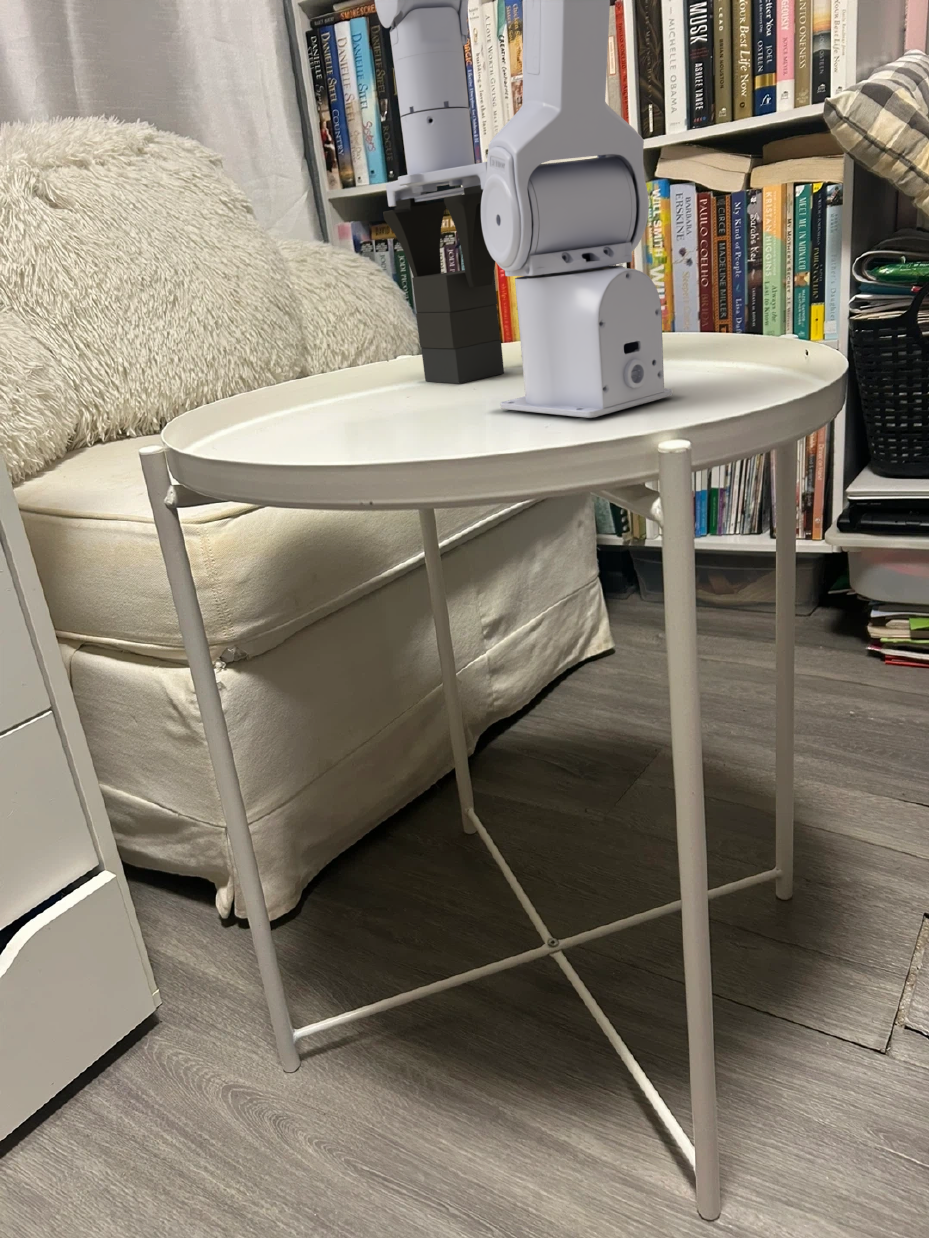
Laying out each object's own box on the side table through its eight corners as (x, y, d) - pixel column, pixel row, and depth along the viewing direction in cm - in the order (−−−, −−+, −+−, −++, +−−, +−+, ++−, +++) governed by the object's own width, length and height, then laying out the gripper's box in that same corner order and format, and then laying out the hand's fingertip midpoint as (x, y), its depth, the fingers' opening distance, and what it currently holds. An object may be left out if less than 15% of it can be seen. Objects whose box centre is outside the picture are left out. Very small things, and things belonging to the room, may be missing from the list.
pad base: (504, 373, 85) (501, 339, 84) (459, 384, 82) (455, 348, 81) (469, 371, 89) (465, 338, 88) (424, 381, 86) (420, 347, 85)
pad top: (497, 304, 83) (494, 268, 81) (450, 312, 80) (446, 275, 79) (462, 305, 87) (458, 270, 85) (416, 313, 84) (411, 277, 83)
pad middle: (500, 339, 84) (497, 304, 82) (453, 349, 81) (449, 312, 80) (465, 339, 88) (461, 305, 86) (419, 348, 85) (415, 313, 84)
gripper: (348, 130, 81) (372, 296, 86) (448, 99, 70) (468, 290, 75) (415, 127, 85) (434, 286, 90) (520, 97, 74) (535, 280, 79)
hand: (454, 287), depth 83 cm, fingers open, 7 cm apart
